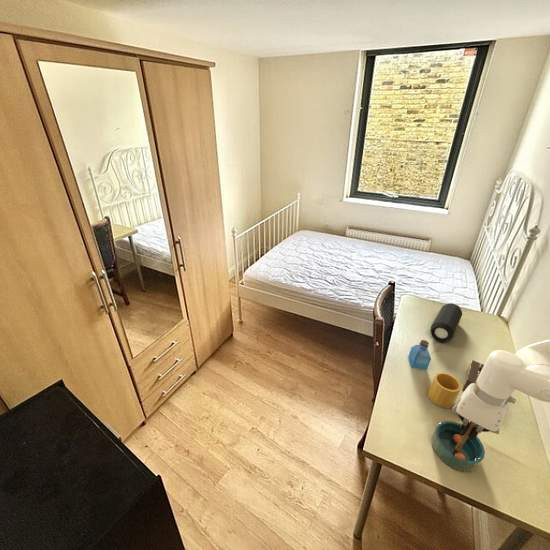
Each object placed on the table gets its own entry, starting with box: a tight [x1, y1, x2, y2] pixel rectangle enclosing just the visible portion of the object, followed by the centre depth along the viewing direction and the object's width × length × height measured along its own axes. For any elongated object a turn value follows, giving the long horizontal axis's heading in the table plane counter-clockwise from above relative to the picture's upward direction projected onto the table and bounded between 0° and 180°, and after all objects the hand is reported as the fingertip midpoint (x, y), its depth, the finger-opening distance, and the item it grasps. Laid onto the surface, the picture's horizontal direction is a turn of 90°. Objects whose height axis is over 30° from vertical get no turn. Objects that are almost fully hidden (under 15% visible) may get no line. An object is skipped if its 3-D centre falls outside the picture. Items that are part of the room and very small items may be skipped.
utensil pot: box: [427, 371, 463, 409], centre depth 109 cm, size 9×9×9 cm
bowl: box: [431, 420, 486, 473], centre depth 93 cm, size 14×14×5 cm
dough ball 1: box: [453, 434, 462, 444], centre depth 95 cm, size 3×3×3 cm
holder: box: [461, 359, 485, 392], centre depth 116 cm, size 8×13×6 cm, turn 142°
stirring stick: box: [453, 420, 476, 454], centre depth 88 cm, size 1×1×16 cm
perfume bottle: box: [407, 339, 432, 370], centre depth 124 cm, size 6×6×12 cm
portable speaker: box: [429, 302, 463, 343], centre depth 145 cm, size 26×10×10 cm, turn 141°
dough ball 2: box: [455, 453, 466, 460], centre depth 90 cm, size 3×3×3 cm
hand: (466, 433), depth 86 cm, fingers closed on stirring stick, 1 cm apart
